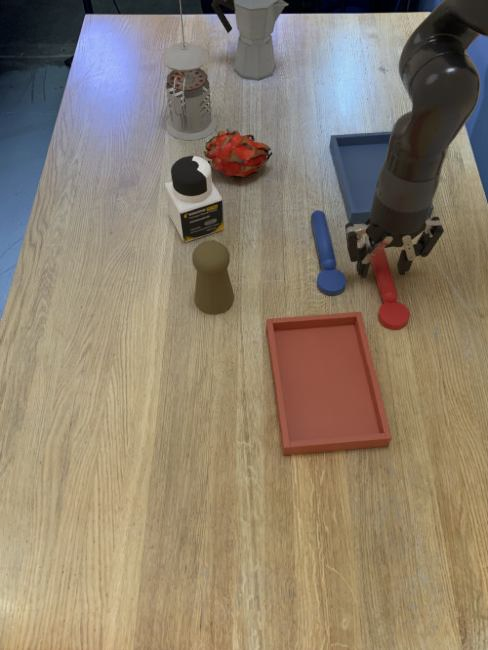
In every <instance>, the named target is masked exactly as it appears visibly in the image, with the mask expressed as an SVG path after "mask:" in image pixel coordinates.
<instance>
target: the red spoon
mask: <svg viewBox="0 0 488 650" xmlns="http://www.w3.org/2000/svg"><path fill="white" fill-rule="evenodd" d="M370 262H371V265H372V269H373V273H374V276H375V279H376V283H377V287H378V290H379V294H380V299H381V300H382V302H383V303H382V304H381V305H380V306H379V309H378V312H377V320H378V322H379V323H380V325H382V327H384V328H386V329H388V330H394V331H397V330H400V329H403V328H404V327H406V326H407V324H408V322H409V319H410V311H409V308H408V307H407V306H406V305H405V304H404V303H402V302H400V301H398V299H399V294H398V290H397V287H396V284H395V281H394V277H393V274H392V271H391V267H390V263H389V260H388V257H387V253H386V248H384V249H383V250H382V251H381V252H380V254H379V255H378V256H374V257H373V258H372V260H371V261H370Z"/></svg>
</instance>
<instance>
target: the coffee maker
mask: <svg viewBox="0 0 488 650" xmlns="http://www.w3.org/2000/svg"><path fill="white" fill-rule="evenodd" d="M220 5H221V6H224V7H225V8H228V9H230V10H232V11H233V12H234V15H235V16H234V17H235V22H236V23H235V24H236V28H237V31H238V35H239V36H238V39H237V45H236V54H235V59H234V68H233V71H234V72H235V73H236V75H238V76H239V77H240V78H241V79H244V80H252V81H261V80H264V79H266V78H269V77H272V76H273V74H274V72H275V69H276V58H275V52H274V43H273V37H272V33H274V29H275V26H276V22H277V21H278V19H279V17H280V15H281V14H282V12H283V10H284V9H285V7H287V6H289V3H288V2H286V1H285V0H212V2H211V8H212V9H213V11H214V13H215V14H216V16H217V18H218V20H219V21H220V23H221V25H222V26H223V28H224V30H225V31H226V33H227V34H229V33H231V32H232V30H233V26H232V25H231V23H230V22H229V20H228V18H227V17H226V15H225V13H224V12H223V9H222V8H221V6H220Z"/></svg>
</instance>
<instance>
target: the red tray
mask: <svg viewBox="0 0 488 650" xmlns="http://www.w3.org/2000/svg"><path fill="white" fill-rule="evenodd" d="M363 319H364V318H363V316H362V311H351V312H340V313H339V312H338V313H326V314H314V315H312V314H311V315H300V316H299V315H298V316H288V317H275V318H266V322H265V323H266V325H265V330H266V337H267V345H268V353H269V361H270V367H271V375H272V382H273V389H274V397H275V405H276V412H277V420H278V427H279V433H280V434H279V435H280V442H281V450H282V456H292V455H293V456H294V455H303V454H313V453H314V454H315V453H325V452H336V451H338V452H339V451H347V450H360V449H372V448H381V447H382V448H383V447H389V445H390V443H391V441H392V439H393V438H392V433H391V430H390V425H389V421H388V417H387V412H386V408H385V405H384V402H383V401H384V400H383V396H382V393H381V388H380V385H379V381H378V376H377V373H376V369H375V365H374V360H373V356H372V352H371V347H370V344H369V340H368V335H367V331H366V327H365V323H364V320H363Z"/></svg>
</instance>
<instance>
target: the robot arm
mask: <svg viewBox="0 0 488 650" xmlns="http://www.w3.org/2000/svg"><path fill="white" fill-rule="evenodd" d="M480 36H482V37H485V38H488V0H442V1H440V3H438V5H437V6H436V7H435V8H434V9H433V10H432V11H431V12H430V13H429V14H428V15H427V16H426V17H425V19H424V20H422V22H420V24H419V25H418V26H417V27H416V28H415V29H414V30H413V32H412V33H411V34H410V36H409V37H408V39H407V41H405V44H404V45H403V48H402V50H401V54H400V56H399V60H398V75H399V79H400V81H401V83H402V85H403V87H404V89H405V91H406V93H407V95H408V97H409V99H410V102H411V111H407V112H406V113H404V114H402V115H400V117H399V118H397V120H396V121H395V123H394V124H393V127H392V130H391V131H392V133H391V136H390V139H389V144H388V148H387V152H386V156H385V160H384V163H383V165H382V167H381V170H380V173H379V177H378V180H377V182H376V190H375V195H374V199H373V203H372V207H371V213H370V217H369V218H368V220H367V221H366V222H365V223H362V224H359V225H355V224H353V223H349V222H347V223H346V224H345V225H344V229H345V240H346V249H347V253H348V257H349V261H350V262H351V263H356V265H355V268H356V273H357V275H358V276H360V278H361V279H367V278H368V273H369V270H370V266H371V262H372V261H371V260H372V258H373V257H374V256H378V255H379V254H380V252H381V251H382V250H383V249H389V248H403V249H401V251H400V254H399V256H398V260H397V263H396V269H397V271H398V275H399V276H401V277H402V276H406V273H407V272H409V271H410V270H411V267H412V264H413V262H414V261H415V260H416V259H417V257H421V258H426V257H428V256H429V255H430V254H431V252H432V250H433V249H434V247H435V246H436V245H437V243H438V242H439V240H440V239H441V237H442V235H444V234H443V233H445V230H444V227H443V224H442V222H441V219H440V217H439V216H433V217H432V218H430V219H428V218H427V216H428V213H429V211H430V208H431V205H432V204H433V202H434V198H435V196H436V193H437V190H438V187H439V185H440V179H441V173H442V168H443V166H444V163H445V160H446V157H447V154H448V151H449V148H450V145H451V144H452V143H453V141H454V140H455V139H456V137H457V136H458V135H459V134H460V132H461V131H462V129H463V127H464V126H465V125H466V123H467V122H468V120H470V117H471V116H472V114H473V113H474V111H475V110H476V107H477V105H478V102H479V98H480V94H481V85H482V84H481V81H482V80H481V76H480V72H479V70H478V67H477V66H476V65H475V63H474V61H473V59H472V58H471V57H470V55H469V54H468V49H469V48H470V46H472V44H473V43H474V42H475V41H476V40H477V39H478V38H479V37H480ZM364 235H366V236H365V238H364V242H363V243H362V244H361V245H360V246H359V247H358V244H359V243H360V242H361V239H362V238H363V236H364ZM418 236H419V238H418V240H416V243H413V240H414V239H415V238H417V237H418Z"/></svg>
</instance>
